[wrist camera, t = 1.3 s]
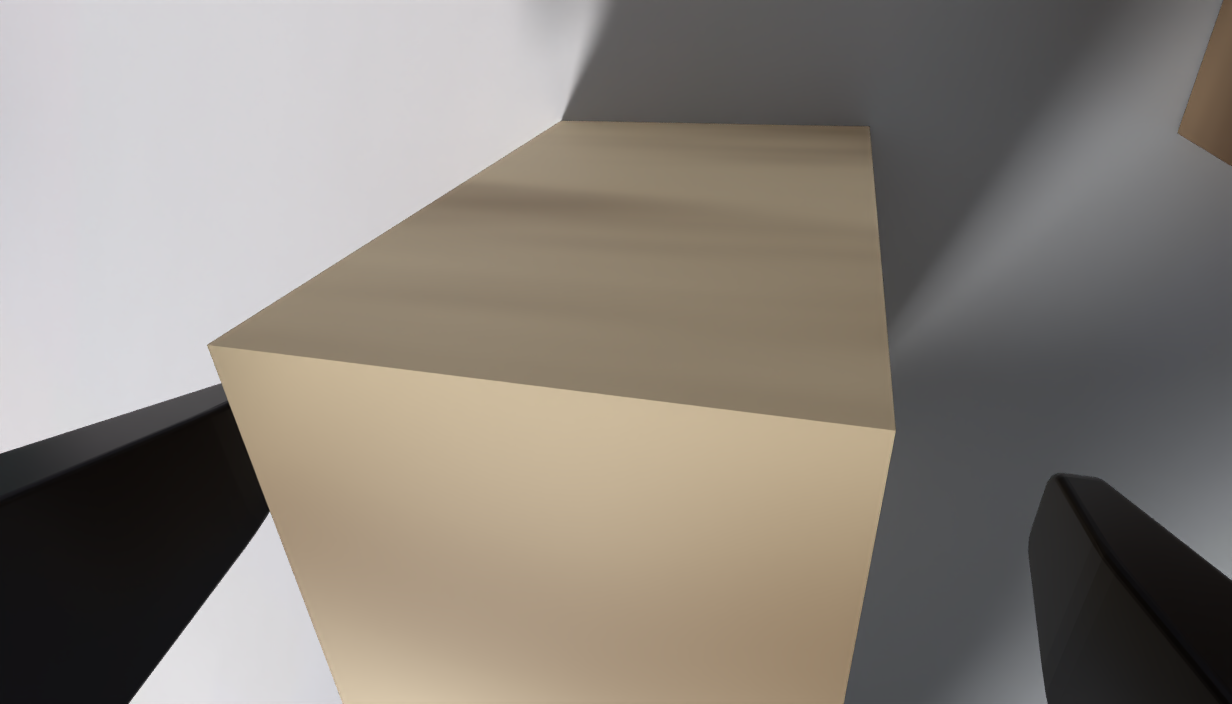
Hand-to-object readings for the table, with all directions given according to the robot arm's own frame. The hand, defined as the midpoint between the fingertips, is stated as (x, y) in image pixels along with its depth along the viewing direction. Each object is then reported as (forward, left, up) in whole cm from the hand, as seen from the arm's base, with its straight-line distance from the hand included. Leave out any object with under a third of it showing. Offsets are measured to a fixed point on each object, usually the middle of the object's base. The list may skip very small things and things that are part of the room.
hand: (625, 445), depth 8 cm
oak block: (0, 0, -5) cm, 5 cm away
